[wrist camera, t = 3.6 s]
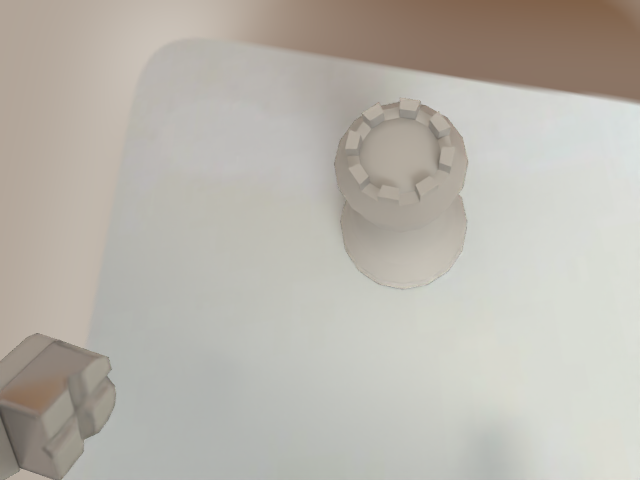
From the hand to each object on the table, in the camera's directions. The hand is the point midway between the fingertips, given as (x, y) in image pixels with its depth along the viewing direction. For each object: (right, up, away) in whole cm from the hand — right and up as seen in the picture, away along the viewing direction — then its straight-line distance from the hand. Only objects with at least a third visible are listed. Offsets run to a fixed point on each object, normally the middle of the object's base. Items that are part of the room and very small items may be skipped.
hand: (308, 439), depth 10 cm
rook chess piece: (+3, +4, +11) cm, 12 cm away
